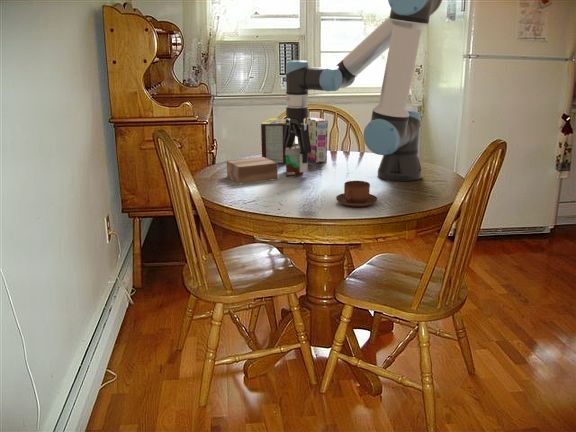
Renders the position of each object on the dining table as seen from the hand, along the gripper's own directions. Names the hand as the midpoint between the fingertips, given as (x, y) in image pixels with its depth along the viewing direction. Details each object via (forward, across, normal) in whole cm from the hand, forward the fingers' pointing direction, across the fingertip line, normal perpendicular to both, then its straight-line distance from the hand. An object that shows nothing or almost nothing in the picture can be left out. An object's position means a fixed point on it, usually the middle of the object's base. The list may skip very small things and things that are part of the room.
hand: (296, 168), depth 206 cm
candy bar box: (+2, -17, +17) cm, 24 cm away
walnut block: (+2, 0, -17) cm, 17 cm away
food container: (+2, +1, 0) cm, 2 cm away
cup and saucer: (+2, +43, -1) cm, 43 cm away
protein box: (+2, -25, +4) cm, 26 cm away
